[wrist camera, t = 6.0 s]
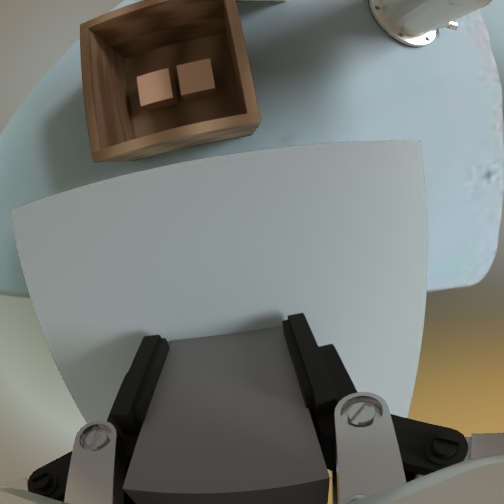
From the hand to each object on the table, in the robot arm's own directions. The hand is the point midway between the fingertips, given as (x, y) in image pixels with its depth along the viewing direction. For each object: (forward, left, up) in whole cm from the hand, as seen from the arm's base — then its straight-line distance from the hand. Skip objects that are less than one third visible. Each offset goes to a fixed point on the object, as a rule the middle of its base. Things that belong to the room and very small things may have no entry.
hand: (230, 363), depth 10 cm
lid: (0, +1, -2) cm, 2 cm away
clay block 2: (+1, -18, -30) cm, 35 cm away
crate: (+4, -18, -31) cm, 36 cm away
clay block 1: (+6, -18, -30) cm, 36 cm away
